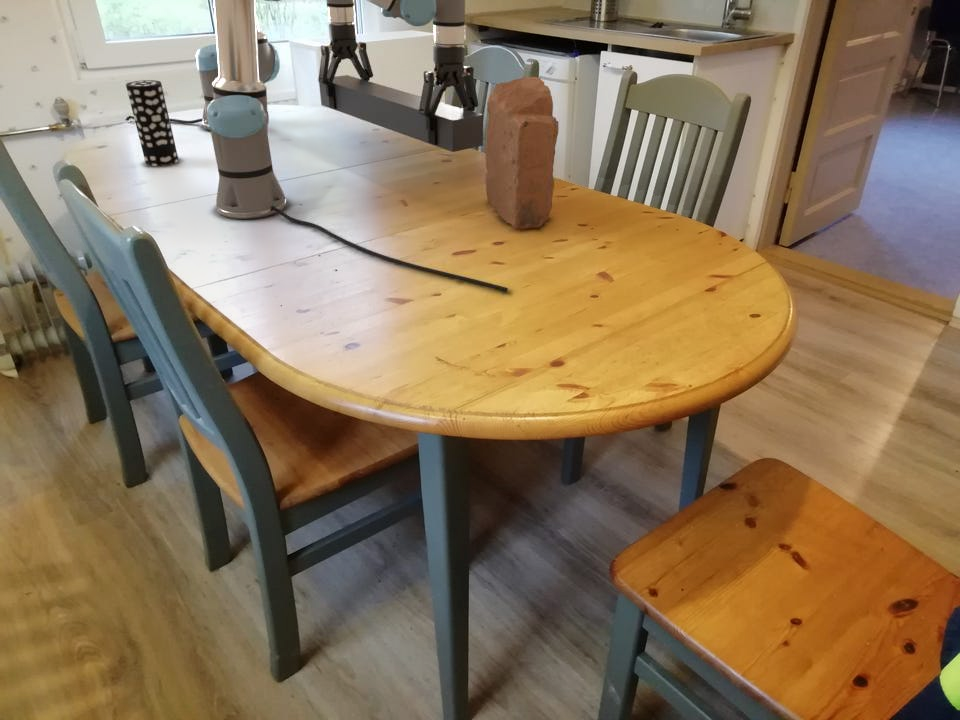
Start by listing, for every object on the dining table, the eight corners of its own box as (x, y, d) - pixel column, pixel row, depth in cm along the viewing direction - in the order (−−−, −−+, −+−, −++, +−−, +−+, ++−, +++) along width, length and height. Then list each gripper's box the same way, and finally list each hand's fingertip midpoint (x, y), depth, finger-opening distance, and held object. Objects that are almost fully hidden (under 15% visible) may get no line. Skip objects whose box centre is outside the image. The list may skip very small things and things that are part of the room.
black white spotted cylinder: (184, 157, 190) (167, 80, 179) (169, 166, 183) (151, 87, 172) (155, 156, 190) (136, 79, 179) (139, 165, 183) (119, 86, 172)
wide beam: (483, 145, 173) (483, 114, 169) (452, 152, 168) (452, 120, 164) (349, 100, 213) (347, 75, 209) (321, 105, 208) (318, 78, 204)
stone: (564, 226, 149) (572, 89, 135) (516, 232, 146) (519, 92, 132) (527, 198, 167) (531, 73, 153) (483, 203, 164) (483, 76, 149)
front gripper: (474, 38, 172) (473, 130, 184) (400, 46, 159) (404, 144, 171) (494, 42, 167) (491, 136, 179) (420, 51, 154) (422, 151, 166)
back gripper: (368, 19, 202) (373, 98, 214) (299, 24, 189) (308, 108, 202) (382, 22, 197) (386, 103, 209) (313, 27, 185) (321, 113, 197)
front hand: (449, 140), depth 175 cm, fingers closed on wide beam, 10 cm apart
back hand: (348, 105), depth 206 cm, fingers closed on wide beam, 10 cm apart
